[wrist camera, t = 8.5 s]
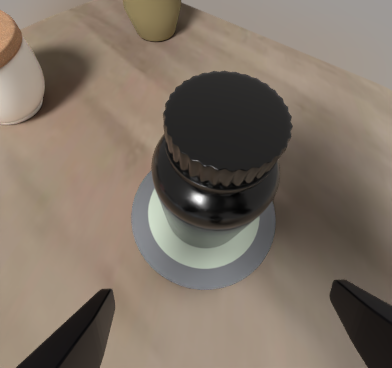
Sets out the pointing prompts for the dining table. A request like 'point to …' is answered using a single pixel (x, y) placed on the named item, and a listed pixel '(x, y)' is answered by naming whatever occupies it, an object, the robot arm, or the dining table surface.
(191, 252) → the plate
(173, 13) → the squeeze bottle
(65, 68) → the dining table surface
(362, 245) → the dining table surface
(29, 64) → the lidded jar
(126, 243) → the dining table surface
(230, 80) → the supplement bottle
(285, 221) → the dining table surface
